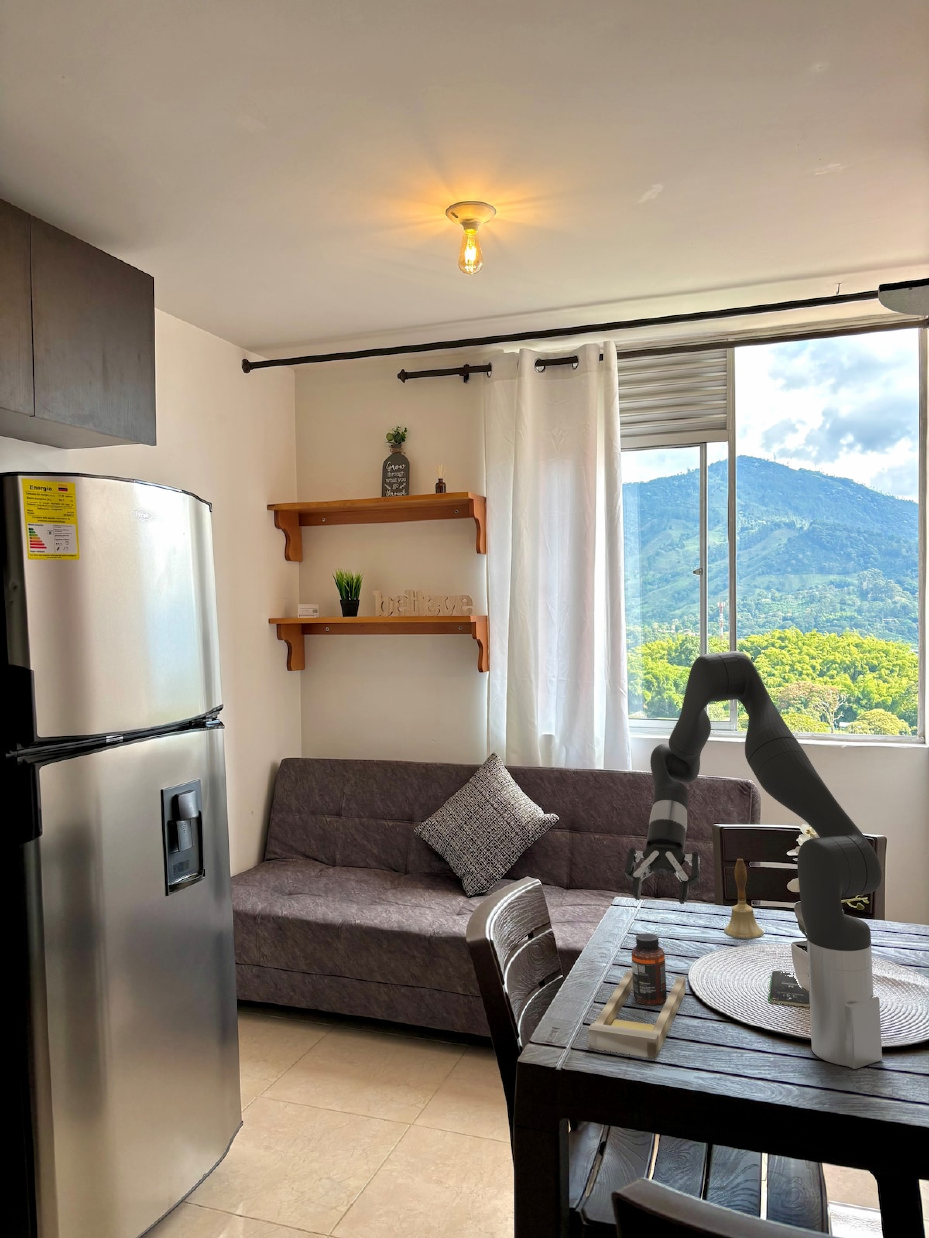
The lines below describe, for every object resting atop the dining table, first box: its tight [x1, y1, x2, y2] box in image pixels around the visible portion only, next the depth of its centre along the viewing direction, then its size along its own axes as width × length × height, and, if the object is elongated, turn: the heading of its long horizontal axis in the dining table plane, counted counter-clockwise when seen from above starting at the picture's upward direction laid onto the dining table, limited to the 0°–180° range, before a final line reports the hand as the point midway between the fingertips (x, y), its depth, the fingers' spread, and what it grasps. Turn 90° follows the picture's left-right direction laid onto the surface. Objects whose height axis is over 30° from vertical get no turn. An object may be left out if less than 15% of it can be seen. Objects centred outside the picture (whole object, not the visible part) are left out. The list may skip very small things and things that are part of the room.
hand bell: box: [723, 858, 764, 939], centre depth 192 cm, size 8×8×16 cm
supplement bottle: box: [631, 932, 668, 1006], centre depth 158 cm, size 6×6×11 cm
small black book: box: [767, 970, 810, 1008], centre depth 160 cm, size 8×1×15 cm
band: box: [611, 1018, 655, 1032], centre depth 145 cm, size 5×8×1 cm, turn 67°
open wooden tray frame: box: [587, 970, 687, 1060], centre depth 150 cm, size 28×11×3 cm, turn 157°
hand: (658, 899), depth 168 cm, fingers open, 8 cm apart
